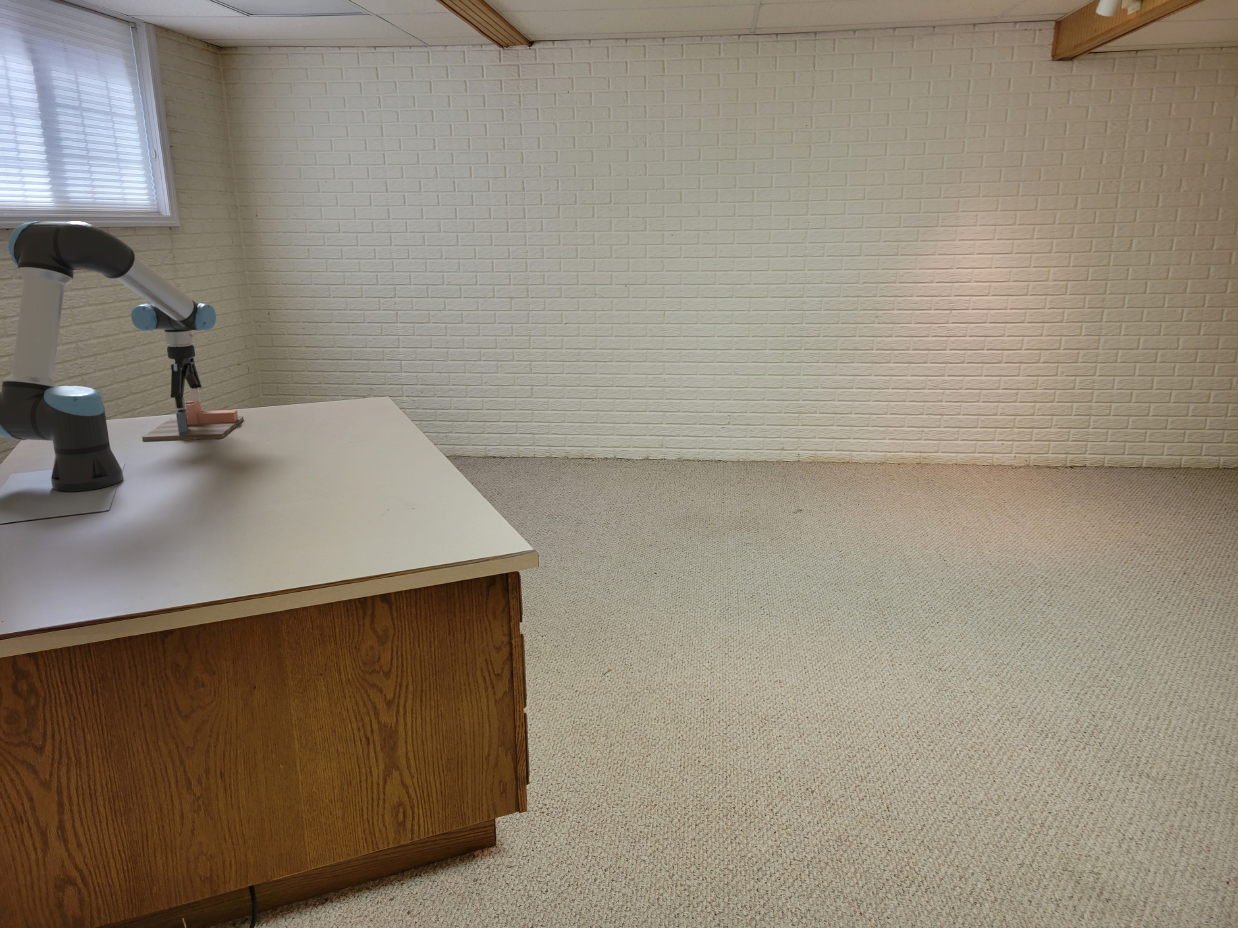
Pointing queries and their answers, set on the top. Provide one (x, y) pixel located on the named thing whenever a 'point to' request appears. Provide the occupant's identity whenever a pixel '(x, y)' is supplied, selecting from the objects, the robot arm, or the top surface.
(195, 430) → the board
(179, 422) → the bracket
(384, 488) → the top surface
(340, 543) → the top surface
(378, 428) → the top surface
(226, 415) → the link
